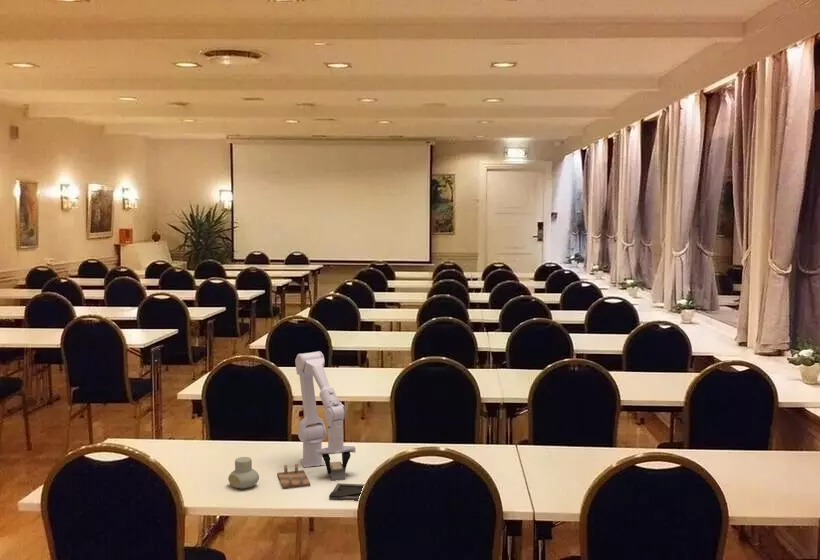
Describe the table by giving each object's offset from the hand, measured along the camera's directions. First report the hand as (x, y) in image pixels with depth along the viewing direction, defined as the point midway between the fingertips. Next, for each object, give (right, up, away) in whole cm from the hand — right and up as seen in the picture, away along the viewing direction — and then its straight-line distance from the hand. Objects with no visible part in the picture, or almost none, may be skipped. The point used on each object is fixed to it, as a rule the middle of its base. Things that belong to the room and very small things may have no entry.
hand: (336, 472), depth 298 cm
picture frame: (+9, -4, -18) cm, 21 cm away
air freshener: (-33, -3, -9) cm, 34 cm away
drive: (0, -1, 0) cm, 2 cm away
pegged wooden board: (-15, -2, -4) cm, 16 cm away
